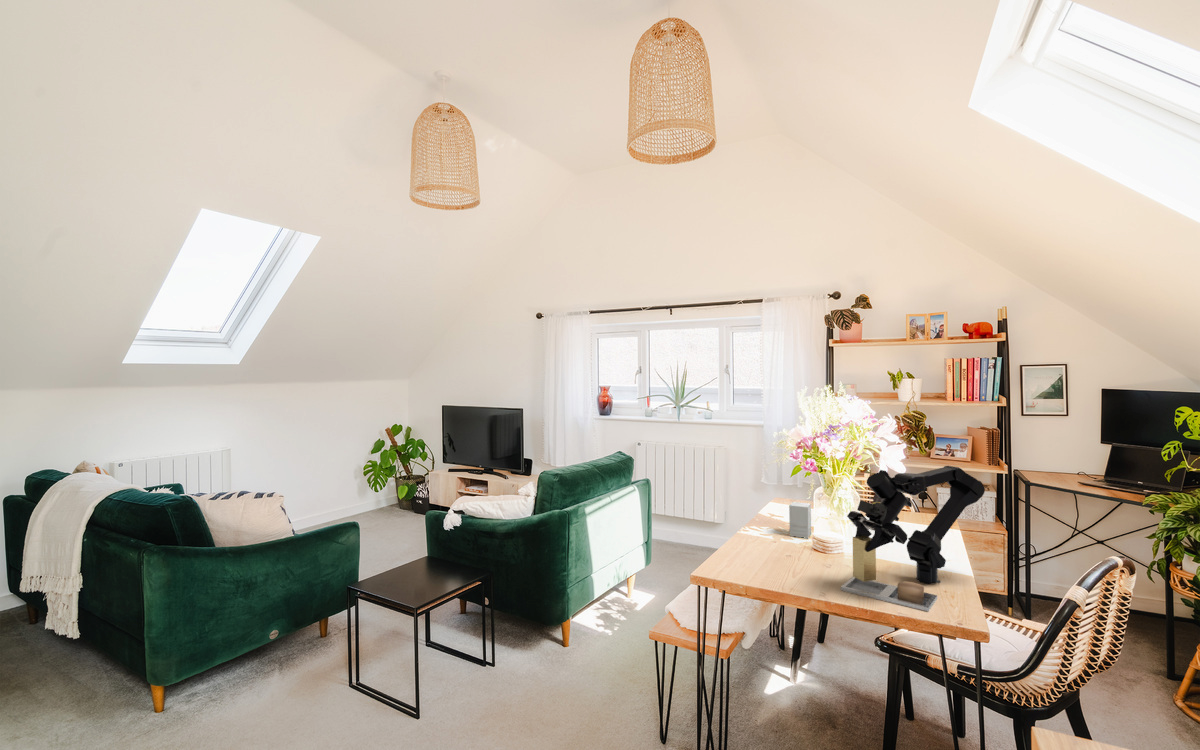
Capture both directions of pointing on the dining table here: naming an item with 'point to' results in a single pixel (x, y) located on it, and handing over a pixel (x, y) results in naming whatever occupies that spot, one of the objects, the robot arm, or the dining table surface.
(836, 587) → the dining table surface
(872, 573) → the block
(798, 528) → the supplement box
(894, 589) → the tray
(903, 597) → the walnut puck
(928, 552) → the robot arm
